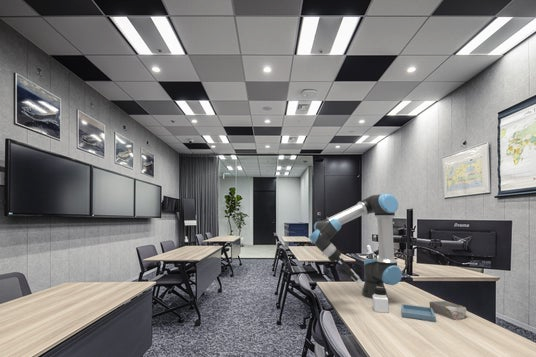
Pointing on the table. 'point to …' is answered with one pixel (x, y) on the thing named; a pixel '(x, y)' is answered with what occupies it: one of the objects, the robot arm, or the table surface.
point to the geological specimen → (449, 310)
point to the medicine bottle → (380, 300)
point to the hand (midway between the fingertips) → (359, 281)
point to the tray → (418, 312)
